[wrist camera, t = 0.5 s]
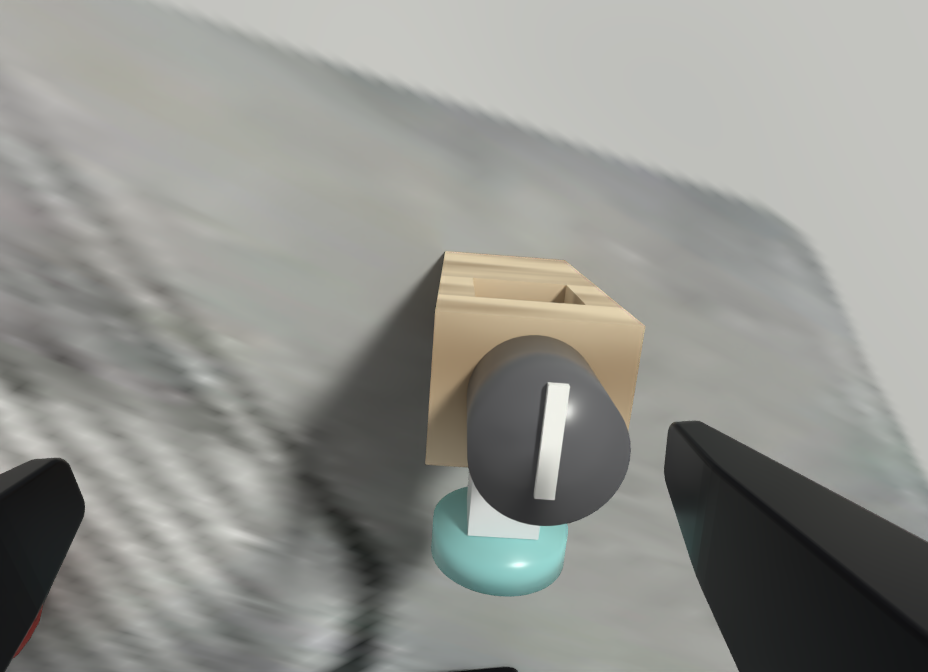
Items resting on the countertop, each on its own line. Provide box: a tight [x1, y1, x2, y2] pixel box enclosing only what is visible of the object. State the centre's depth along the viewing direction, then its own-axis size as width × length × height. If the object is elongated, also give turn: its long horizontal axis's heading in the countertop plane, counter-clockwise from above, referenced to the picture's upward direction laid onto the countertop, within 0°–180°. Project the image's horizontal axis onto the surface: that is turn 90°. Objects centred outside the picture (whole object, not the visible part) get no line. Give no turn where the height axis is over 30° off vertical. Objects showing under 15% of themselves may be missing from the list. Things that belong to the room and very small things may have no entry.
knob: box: [431, 472, 568, 596], centre depth 19 cm, size 6×4×4 cm
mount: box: [425, 251, 645, 467], centre depth 20 cm, size 4×5×11 cm
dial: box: [467, 335, 631, 526], centre depth 13 cm, size 3×3×3 cm
